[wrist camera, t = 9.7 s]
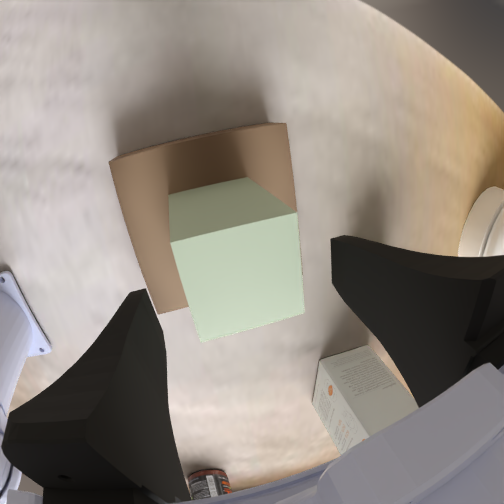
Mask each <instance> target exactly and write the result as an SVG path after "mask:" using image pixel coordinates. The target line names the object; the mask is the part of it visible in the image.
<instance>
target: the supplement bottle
mask: <svg viewBox="0 0 504 504" xmlns="http://www.w3.org/2000/svg"><path fill="white" fill-rule="evenodd" d="M188 482H189V488H190V493H191V497H192V500H198V499H204V498H210V497H215V496H220V495H224V494H229V493H232V490H231V487H230V484H229V481H228V477H227V475H226V473H224V472H223V471H219V470H203V471H199V472H196V473H193V474H192V475H191V476H190V477H189V478H188Z"/></svg>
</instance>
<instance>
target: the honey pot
mask: <svg viewBox="0 0 504 504" xmlns="http://www.w3.org/2000/svg"><path fill="white" fill-rule="evenodd" d="M497 255H504V190H503V189H501V188H498V187H496V186H493V187H489V188H488V189H486V190H485V191H484V192H482V194H481V195H480V196H479V197H478V199H477V200H476V201H475V203H474V205H473V207H472V208H471V210H470V212H469V214H468V217H467V219H466V222H465V224H464V227H463V231H462V235H461V238H460V243H459V249H458V257H488V256H497Z"/></svg>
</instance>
